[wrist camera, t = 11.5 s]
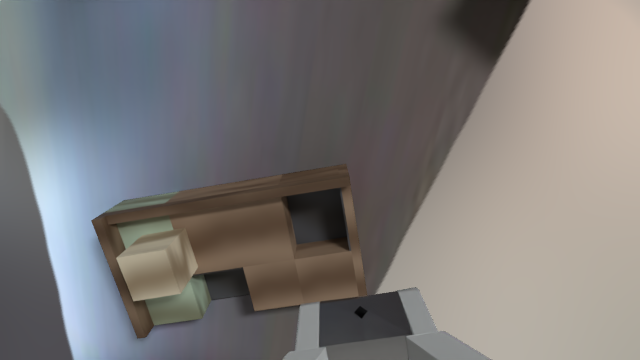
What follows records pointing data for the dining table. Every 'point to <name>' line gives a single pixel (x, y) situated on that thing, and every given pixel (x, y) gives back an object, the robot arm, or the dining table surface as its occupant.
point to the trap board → (246, 243)
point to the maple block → (158, 264)
